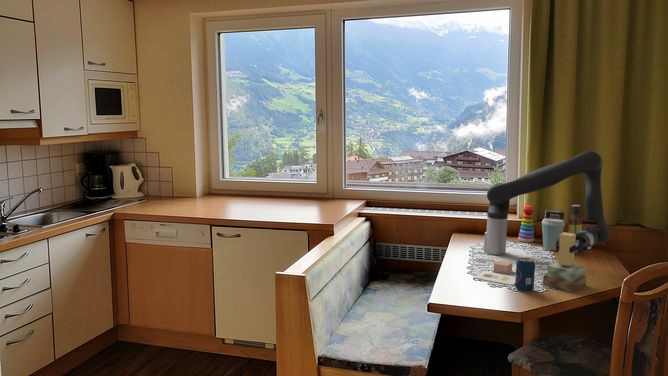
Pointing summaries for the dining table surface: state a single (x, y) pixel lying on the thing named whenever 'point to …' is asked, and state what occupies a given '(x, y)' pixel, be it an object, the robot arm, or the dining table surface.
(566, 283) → the tower base
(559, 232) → the disposable coffee cup
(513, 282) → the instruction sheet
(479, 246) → the dining table surface
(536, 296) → the dining table surface
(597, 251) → the dining table surface
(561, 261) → the tall brick
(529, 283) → the soda can
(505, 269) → the brick
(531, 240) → the stacking toy
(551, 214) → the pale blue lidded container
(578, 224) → the sauce bottle
